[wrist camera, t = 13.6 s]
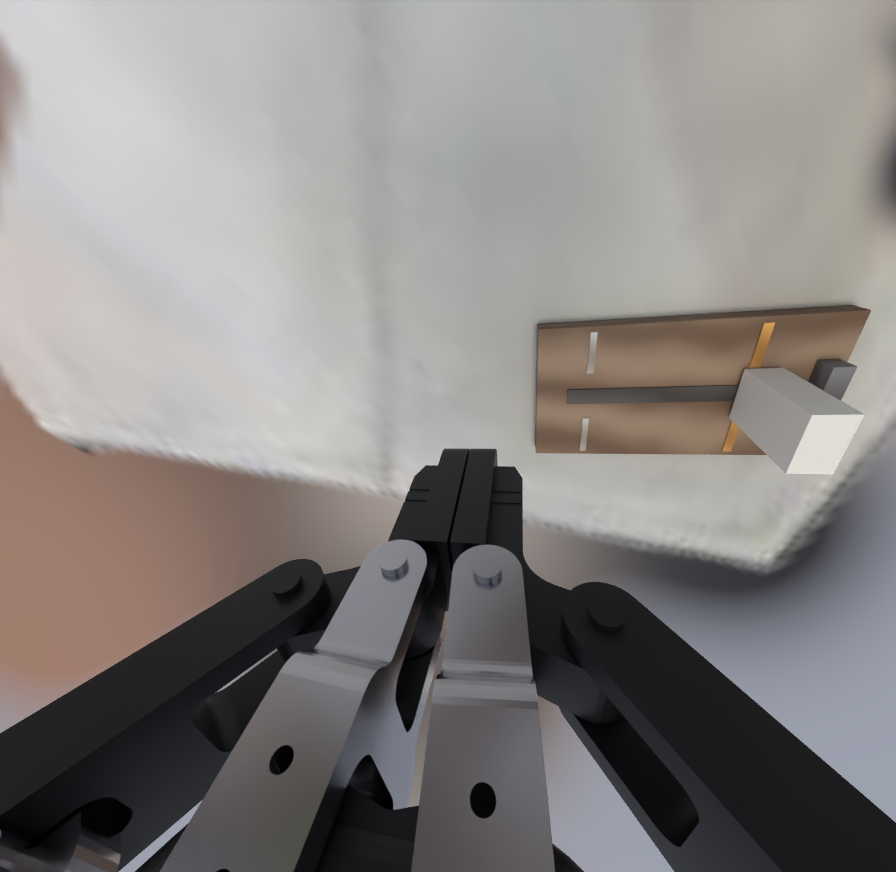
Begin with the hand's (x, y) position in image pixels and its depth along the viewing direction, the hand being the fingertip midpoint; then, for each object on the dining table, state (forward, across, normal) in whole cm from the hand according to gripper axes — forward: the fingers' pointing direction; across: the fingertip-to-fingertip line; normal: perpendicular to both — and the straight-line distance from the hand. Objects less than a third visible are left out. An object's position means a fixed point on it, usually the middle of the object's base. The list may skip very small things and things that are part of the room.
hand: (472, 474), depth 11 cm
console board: (+29, -16, +10) cm, 35 cm away
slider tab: (+27, -23, +10) cm, 36 cm away
